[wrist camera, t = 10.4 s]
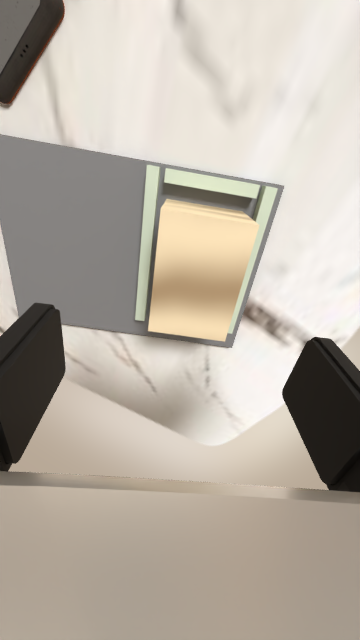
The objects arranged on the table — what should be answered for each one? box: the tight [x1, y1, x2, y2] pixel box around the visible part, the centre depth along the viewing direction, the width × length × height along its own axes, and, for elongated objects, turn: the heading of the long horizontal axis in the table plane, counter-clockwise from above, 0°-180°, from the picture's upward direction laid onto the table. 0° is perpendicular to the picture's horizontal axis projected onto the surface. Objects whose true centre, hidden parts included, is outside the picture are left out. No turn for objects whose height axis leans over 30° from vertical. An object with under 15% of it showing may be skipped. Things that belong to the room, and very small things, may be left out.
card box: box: [148, 199, 259, 342], centre depth 18 cm, size 8×6×5 cm
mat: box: [0, 134, 284, 348], centre depth 20 cm, size 20×14×2 cm
